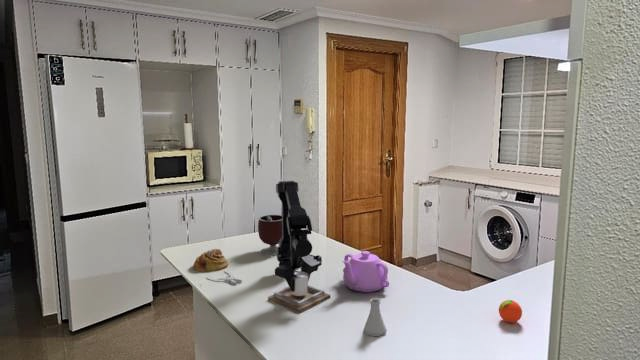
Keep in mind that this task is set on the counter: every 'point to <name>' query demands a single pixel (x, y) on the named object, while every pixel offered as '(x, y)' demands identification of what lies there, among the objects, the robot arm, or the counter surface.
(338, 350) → the counter surface
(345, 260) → the teapot
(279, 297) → the brown square tray
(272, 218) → the dark red goblet shape
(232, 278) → the pliers
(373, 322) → the flask
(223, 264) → the pastry
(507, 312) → the clementine
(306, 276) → the shot glass
